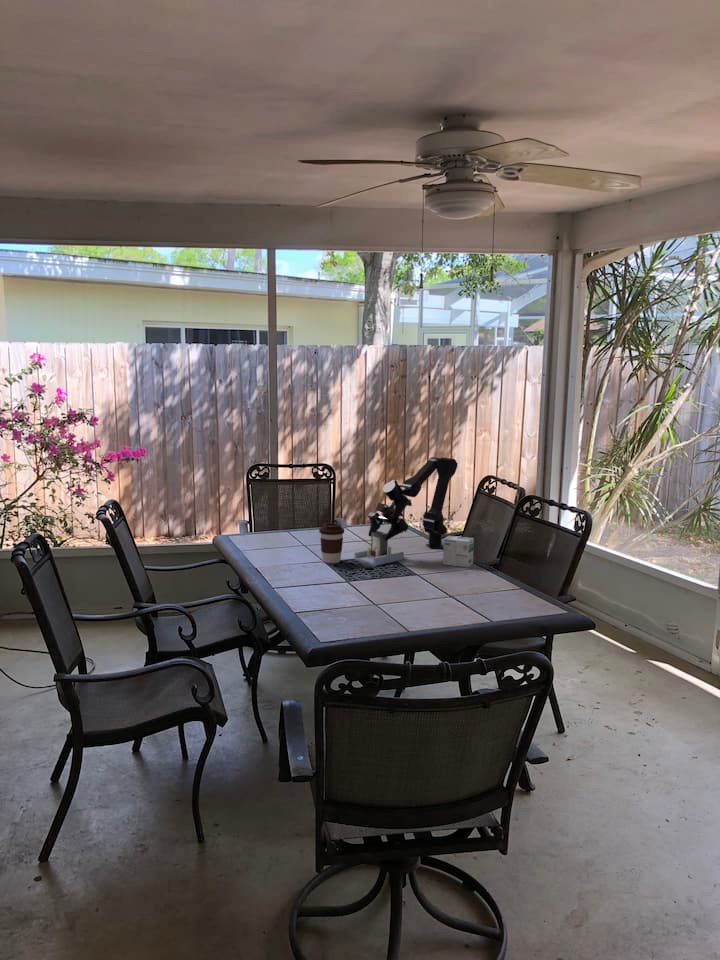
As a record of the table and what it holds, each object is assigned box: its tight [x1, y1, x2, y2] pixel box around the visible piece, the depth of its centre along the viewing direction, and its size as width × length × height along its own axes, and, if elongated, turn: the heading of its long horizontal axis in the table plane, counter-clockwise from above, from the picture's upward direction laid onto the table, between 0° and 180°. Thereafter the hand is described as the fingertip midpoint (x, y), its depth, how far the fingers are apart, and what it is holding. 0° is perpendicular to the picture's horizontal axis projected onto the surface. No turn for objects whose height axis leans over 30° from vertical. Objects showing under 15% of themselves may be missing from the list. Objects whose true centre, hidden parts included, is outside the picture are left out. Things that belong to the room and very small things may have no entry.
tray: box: [354, 546, 404, 567], centre depth 307 cm, size 16×12×5 cm
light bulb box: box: [442, 535, 475, 568], centre depth 302 cm, size 11×7×11 cm, turn 65°
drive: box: [370, 530, 389, 557], centre depth 307 cm, size 4×6×10 cm, turn 43°
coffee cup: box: [318, 522, 345, 564], centre depth 302 cm, size 10×10×15 cm
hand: (377, 537), depth 305 cm, fingers open, 9 cm apart
